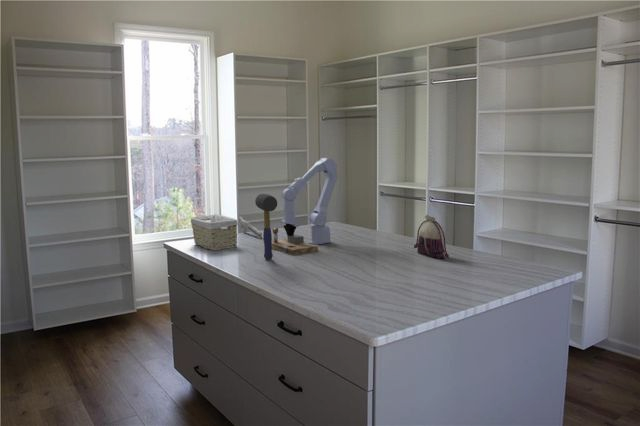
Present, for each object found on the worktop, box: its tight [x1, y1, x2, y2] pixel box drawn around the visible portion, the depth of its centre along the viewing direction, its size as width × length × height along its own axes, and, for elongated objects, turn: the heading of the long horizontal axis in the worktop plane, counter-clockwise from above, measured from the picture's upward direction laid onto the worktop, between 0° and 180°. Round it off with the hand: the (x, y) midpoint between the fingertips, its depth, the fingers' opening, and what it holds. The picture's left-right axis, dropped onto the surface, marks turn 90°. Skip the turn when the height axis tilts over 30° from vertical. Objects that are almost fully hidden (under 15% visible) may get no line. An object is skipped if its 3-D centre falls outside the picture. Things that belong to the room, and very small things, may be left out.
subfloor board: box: [271, 237, 319, 256], centre depth 274 cm, size 15×26×2 cm, turn 35°
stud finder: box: [287, 234, 305, 244], centre depth 277 cm, size 5×7×3 cm
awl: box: [271, 227, 279, 242], centre depth 278 cm, size 3×3×7 cm
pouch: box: [413, 214, 450, 260], centre depth 250 cm, size 25×8×19 cm, turn 33°
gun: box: [238, 216, 263, 239], centre depth 314 cm, size 2×30×8 cm, turn 30°
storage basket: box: [190, 213, 239, 251], centre depth 285 cm, size 24×16×15 cm
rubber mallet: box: [254, 193, 278, 261], centre depth 250 cm, size 12×8×30 cm, turn 24°
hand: (290, 238), depth 281 cm, fingers closed
